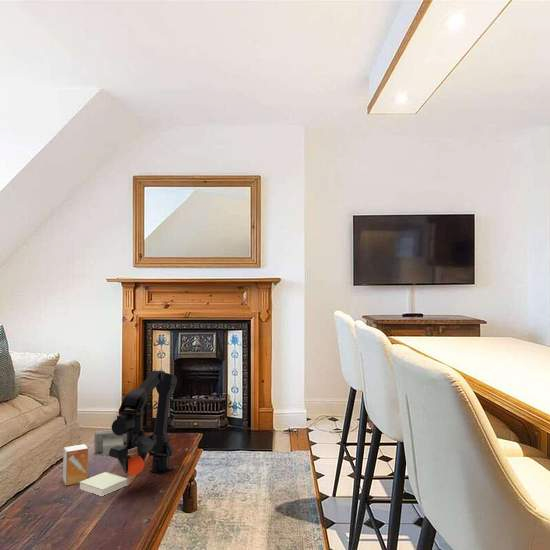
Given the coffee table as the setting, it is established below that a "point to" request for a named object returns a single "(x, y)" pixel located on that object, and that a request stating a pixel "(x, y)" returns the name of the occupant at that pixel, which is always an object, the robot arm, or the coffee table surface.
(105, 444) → the digital clock
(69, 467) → the small box
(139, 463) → the clementine
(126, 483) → the book
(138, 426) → the robot arm
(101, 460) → the coffee table surface
